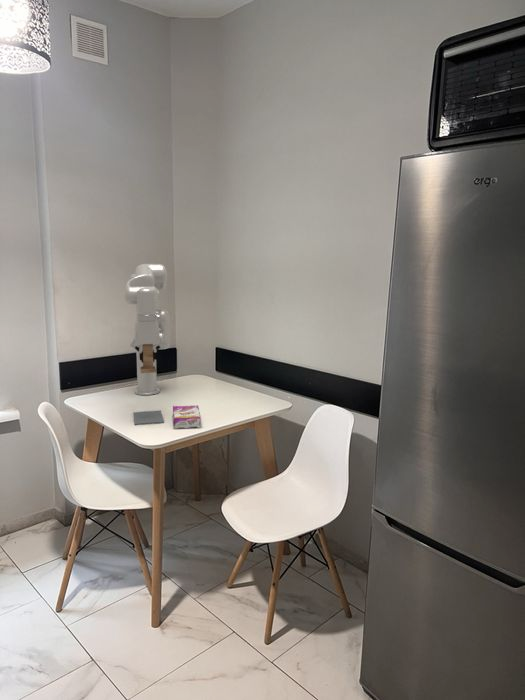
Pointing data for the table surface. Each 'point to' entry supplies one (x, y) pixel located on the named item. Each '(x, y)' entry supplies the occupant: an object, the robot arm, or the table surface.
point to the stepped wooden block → (148, 359)
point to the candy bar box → (186, 417)
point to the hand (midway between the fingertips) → (147, 361)
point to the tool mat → (148, 417)
